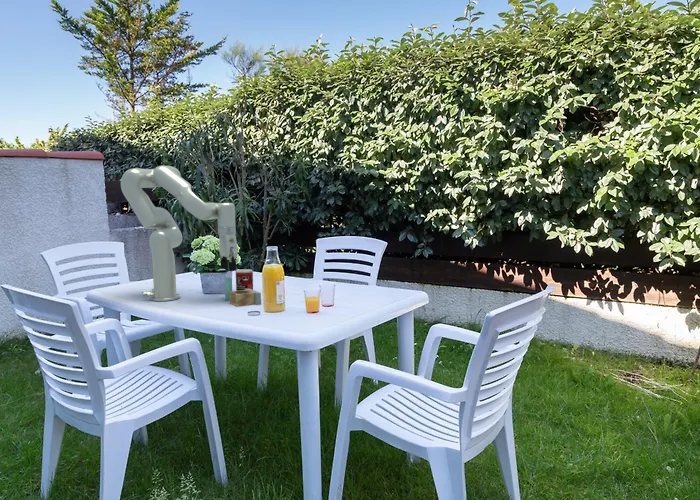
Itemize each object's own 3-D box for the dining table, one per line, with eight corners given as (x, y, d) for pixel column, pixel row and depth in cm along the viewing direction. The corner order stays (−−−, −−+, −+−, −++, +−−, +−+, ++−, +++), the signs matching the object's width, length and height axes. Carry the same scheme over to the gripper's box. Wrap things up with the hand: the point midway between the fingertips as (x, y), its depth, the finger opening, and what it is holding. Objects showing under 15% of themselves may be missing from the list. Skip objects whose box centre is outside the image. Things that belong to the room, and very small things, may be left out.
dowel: (226, 301, 216) (226, 278, 215) (224, 299, 218) (223, 277, 217) (233, 300, 218) (233, 278, 216) (230, 299, 220) (230, 277, 219)
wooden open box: (237, 306, 206) (236, 294, 205) (229, 303, 212) (229, 291, 211) (254, 304, 210) (254, 292, 210) (246, 300, 217) (246, 289, 216)
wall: (256, 304, 209) (256, 293, 208) (245, 299, 218) (244, 288, 218) (260, 304, 210) (260, 292, 209) (249, 299, 219) (249, 288, 219)
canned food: (232, 294, 231) (232, 271, 230) (244, 291, 238) (243, 268, 237) (245, 295, 228) (245, 272, 226) (256, 292, 235) (255, 269, 233)
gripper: (242, 231, 210) (244, 271, 212) (227, 229, 224) (229, 266, 226) (226, 232, 205) (227, 272, 207) (211, 230, 219) (213, 268, 221)
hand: (228, 269), depth 216 cm, fingers open, 9 cm apart
